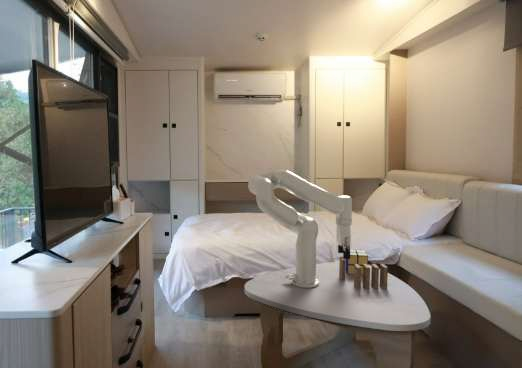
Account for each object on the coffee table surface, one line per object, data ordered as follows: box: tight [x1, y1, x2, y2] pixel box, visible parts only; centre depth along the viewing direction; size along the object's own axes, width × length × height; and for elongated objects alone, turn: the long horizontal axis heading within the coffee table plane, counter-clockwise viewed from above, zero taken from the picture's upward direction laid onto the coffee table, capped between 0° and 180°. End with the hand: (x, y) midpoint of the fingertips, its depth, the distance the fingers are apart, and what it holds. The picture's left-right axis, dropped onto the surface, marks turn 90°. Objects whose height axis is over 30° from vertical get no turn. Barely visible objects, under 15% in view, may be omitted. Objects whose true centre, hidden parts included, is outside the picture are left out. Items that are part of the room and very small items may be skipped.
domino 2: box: [353, 264, 362, 290], centre depth 159 cm, size 2×5×10 cm, turn 2°
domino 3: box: [362, 264, 371, 290], centre depth 159 cm, size 2×5×10 cm, turn 2°
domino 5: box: [379, 263, 389, 290], centre depth 159 cm, size 2×5×10 cm, turn 2°
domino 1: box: [338, 256, 346, 281], centre depth 170 cm, size 2×5×10 cm, turn 2°
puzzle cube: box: [345, 249, 369, 276], centre depth 180 cm, size 10×10×10 cm
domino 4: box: [370, 263, 380, 290], centre depth 159 cm, size 2×5×10 cm, turn 2°
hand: (343, 255), depth 170 cm, fingers open, 9 cm apart
